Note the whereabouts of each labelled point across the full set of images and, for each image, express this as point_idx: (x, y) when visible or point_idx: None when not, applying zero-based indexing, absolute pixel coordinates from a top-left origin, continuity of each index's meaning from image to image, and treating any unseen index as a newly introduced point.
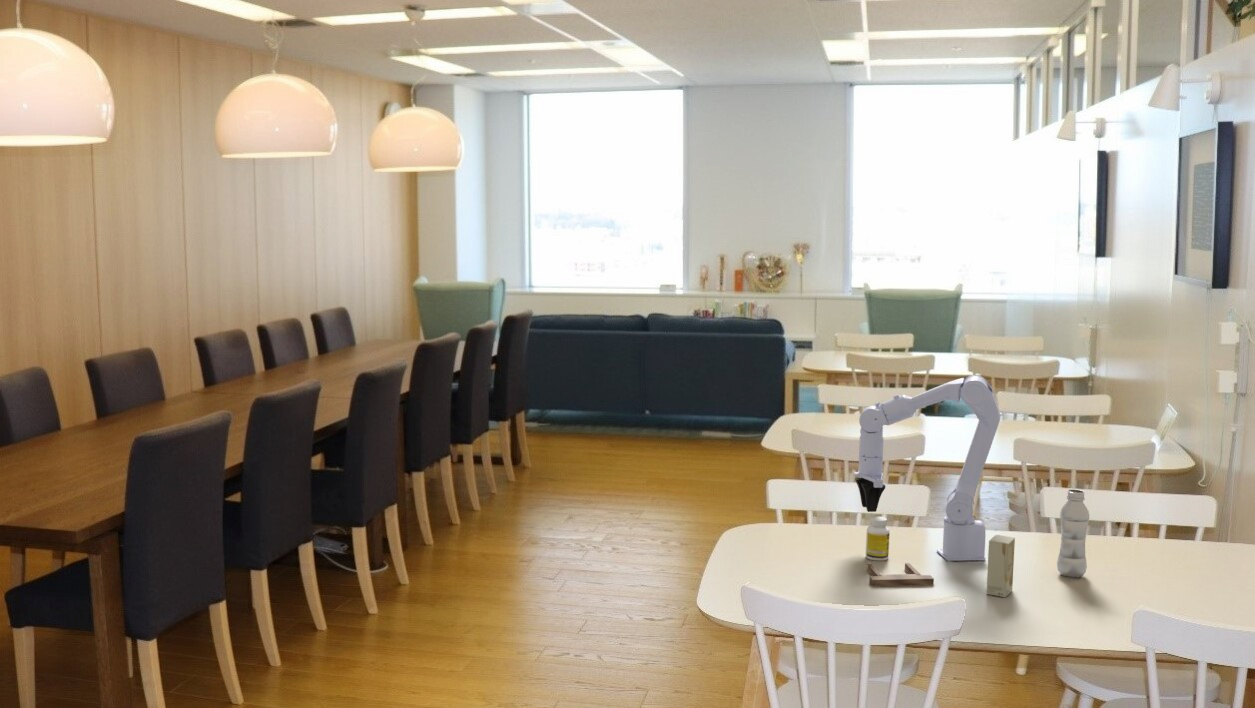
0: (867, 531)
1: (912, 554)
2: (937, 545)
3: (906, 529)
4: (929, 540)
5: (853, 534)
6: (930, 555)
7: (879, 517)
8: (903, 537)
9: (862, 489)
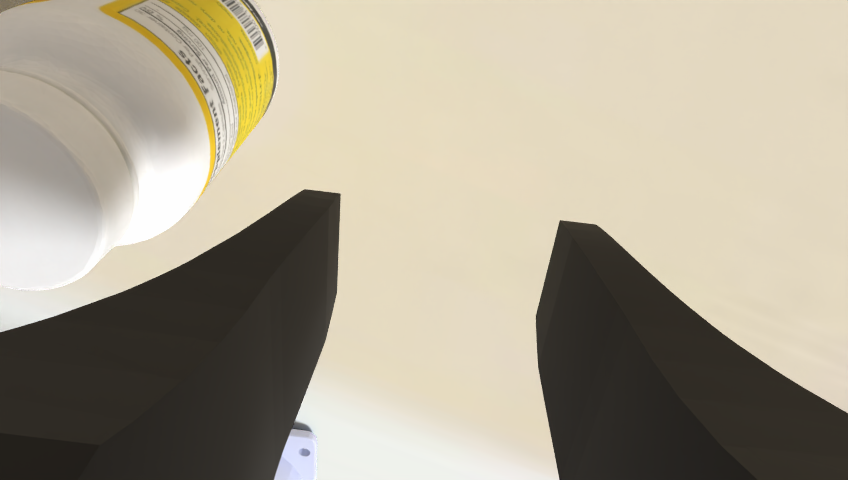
0: (49, 4)
1: None
2: (428, 471)
3: None
4: (523, 474)
5: (839, 116)
6: None
7: (53, 231)
8: None
9: (642, 418)
